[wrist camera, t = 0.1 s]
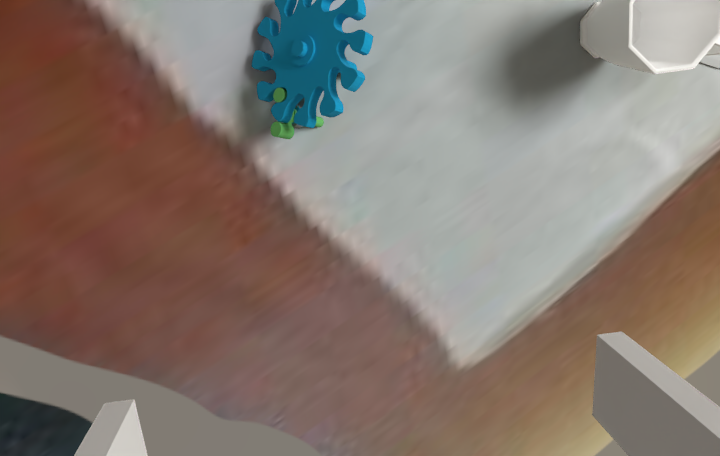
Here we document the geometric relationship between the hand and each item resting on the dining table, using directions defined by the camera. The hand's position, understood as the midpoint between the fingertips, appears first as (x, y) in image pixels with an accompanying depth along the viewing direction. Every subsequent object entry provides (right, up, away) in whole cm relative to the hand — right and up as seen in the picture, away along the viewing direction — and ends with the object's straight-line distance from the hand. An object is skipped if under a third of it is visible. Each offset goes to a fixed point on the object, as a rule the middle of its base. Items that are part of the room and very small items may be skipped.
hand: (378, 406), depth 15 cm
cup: (+20, +20, +26) cm, 39 cm away
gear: (-5, +17, +24) cm, 30 cm away
